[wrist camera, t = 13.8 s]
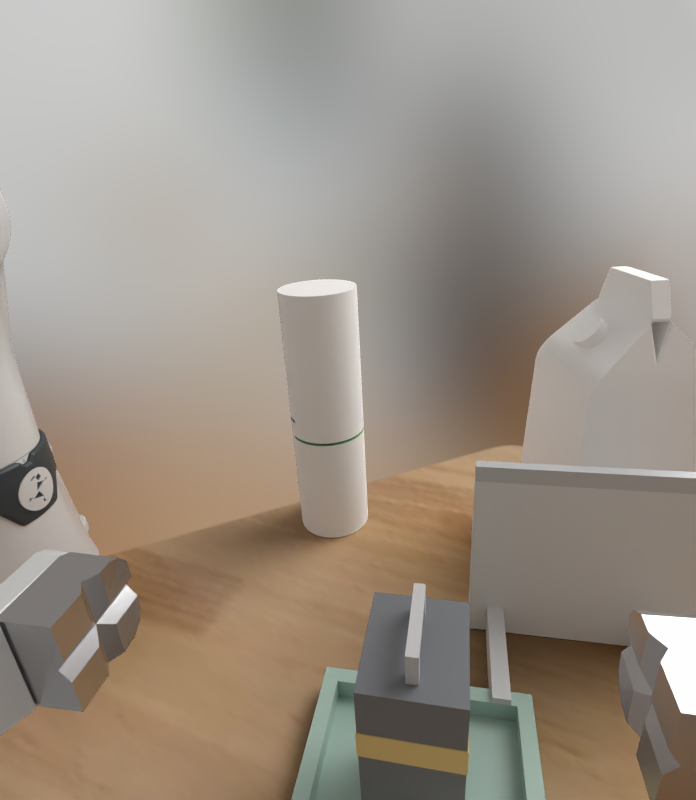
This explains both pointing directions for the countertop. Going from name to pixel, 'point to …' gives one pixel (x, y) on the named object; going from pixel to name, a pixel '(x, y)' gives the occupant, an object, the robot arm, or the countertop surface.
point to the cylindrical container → (326, 403)
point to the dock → (576, 553)
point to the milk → (616, 383)
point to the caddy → (414, 699)
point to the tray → (488, 746)
